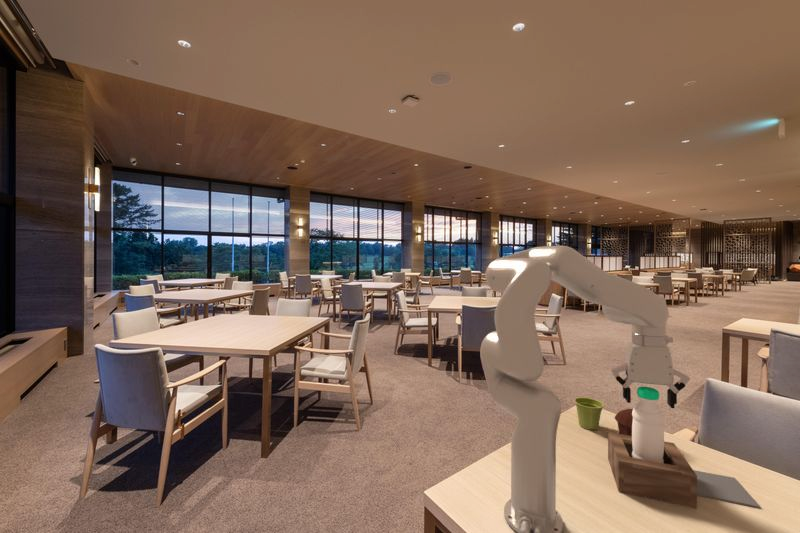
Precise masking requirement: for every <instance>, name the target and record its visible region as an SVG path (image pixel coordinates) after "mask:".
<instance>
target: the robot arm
mask: <svg viewBox="0 0 800 533" xmlns="http://www.w3.org/2000/svg"><path fill="white" fill-rule="evenodd" d="M484 276H485V281H486V284H487V286H488V287H489V288H490V289H491V290H493V291H494V292H496V293H499V294H502V295H501V296H500V299H499V300H498V302H497V304H496V307H495V310H494V319H493V320H494V325H495V330H494V331H490V332H489V333H487V334H486V336H484V338H483V340H482V341H481V343H480V344H481V345H480V352H479V353H480V361H481V365H482V370H483V373H484V377H485V381H486V385H487V390H488V393H489V394H490V397H491V399H492V401H493V402H494V404H495V405H496V406H497V407H499V408H501V409H502V410H503V411H505V412H507V413H508V414H510V415H511V416H513V417H514V418H515V419H516V420H517V426H516V427H515V428H514V430H513V433H512V435H511V438H510V439H511V440H510V450H511V452H510V456H511V457H510V468H511V469H510V472H511V473H510V499H508V500H507V502H505V505H504V507H503V508H504V509H503V514H504V518H505V521H506V523H507V524H508V525H509V527H510V528H512V530H514V531H515V533H563V532H564V520H563V518H562V515H561V514H560V513H559V511H557V510H556V502H557V501H556V499H557V498H556V496H557V495H556V494H557V492H556V489H557V487H556V486H557V480H556V479H557V476H556V474H557V466H556V465H557V464H556V463H557V459H556V458H557V453H556V452H557V432H558V428H559V426H558V425H559V422H560V418H561V413H562V404H561V400H560V398H559V396H558V395H557V393H556V392H555V391H554V390H553V389H552V388H550V387H549V386H547V385H545V384H543V383H541V382H539V381H536V380H539V378H541V376H542V374H543V372H544V368H545V367H544V366H545V365H544V357H543V351H542V346H541V345H540V344H541V343H540V338H539V335H538V331H537V325H536V319H535V316H536V310H537V307H538V305H539V303H540V301H541V299H542V298H543V296H544V294H545V293H546V292H547V290H548V289H549V287H550V285H551V281H552V282H555V283H557V284H558V285H560V286H562V287H563V288H565V289H566V290H567V291H569V292H571V293H573V294H574V295H576V296H577V297H578V298H580V299H582V300H583V301H585V302H589V303H592V304H596V305H599V306H601V308H602V309H601V310H602V313H603V315H604V317H606V318H607V319H608V320H610V321H612V322H613V323H614V322H615V323H618V324H623V325H631V342H628V344H627V346H626V352H625V362H624V364H621V365H619V366H616V367H612V368H611V369H610V370H611V373H612V375H613V376H614V378H615V380H616V381H617V382H618V383H619V384H620V385H621V386H622V398H623V399H625V401H626V403H627V404H628V403H629V404H630V403H632V402H631V401H632V398H631V396H632V395H631V392H632V390H631V388H630V387H631V385H632V384H634V383H639V384H646V385H648V384H649V385H660V386H667V387H668V389H667V391H666V393H667V395H666V396H667V397H666V398H667V400H666V401H667V405H668V406H669V408H671V409H675V405H678V404H677V403H678V395H677V394H679V393H680V391H682V389H684V388H685V387H686V385H687V383H688V382H689V381H690V379H691V378H690V377H689V375H687V374H685V373H683V372H681V371H680V370H679V371H678V370H677V369H675V368H674V365H673V359H672V353H671V349H670V347H669V346H668V344H669V343H673V342H674V338H673V337H672V336H671V337H669V336H668V335H667V321H668V319H669V315H670V314H669V313H670V312H669V308H668V306H667V301H666V298H665V297H664V296H663V295H660V294H656V293H655V292H654V291H652V290H651V289H649V288H648V287H646V286H644V285H642V284H639V283H637V282H634V281H631V280H629V279H627V278H624V277H621V276H619V275H616V274H613V273H610V272H608V271H605V270H603V269H602V268H600V267H599V266H598V265H597V264H596V263H594V262H592V260H590V259H588V258H587V257H585V256H584V255H582V254H581V253H580V252H579V251H577V250H576V249H574V248H573V247H570V246H568V245H567V246H566V245H546V246H535V247H531V248H528V249H525V250H521V251H518V252H516V253H515V252H514V253H512V254H508V255H506V256H502V257H499V258H496V259H494V260H492V261H491V263H490V264H488V266H487V267H486V269H485V274H484ZM622 372H624V373H625V375H626V376H625V377H624V378H622V377H621V376H620V373H622ZM674 376H676V377H677V378H680V379H679V381H677V382H675V383H674Z"/></svg>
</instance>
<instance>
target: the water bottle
mask: <svg viewBox="0 0 800 533" xmlns="http://www.w3.org/2000/svg"><path fill="white" fill-rule="evenodd" d="M636 393H637V398H638V401H637V402H636V403H635V406H634V407H633V408H632V409H633V411H632V416H633V422H632V447H633V451H632V458H638V459H643V460H648V461H654V462H659V463H664V460H663V453H664V442H665V431H664V429H665V428H664V427H665V426H664V424H665V417H664V414H663V412H662V411H661V408H660V406H659V405H658V403H657V402H659V398H660V392H659V391H658V390H657V389H656V388H653V387H649V386H638V387H637V390H636Z"/></svg>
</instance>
